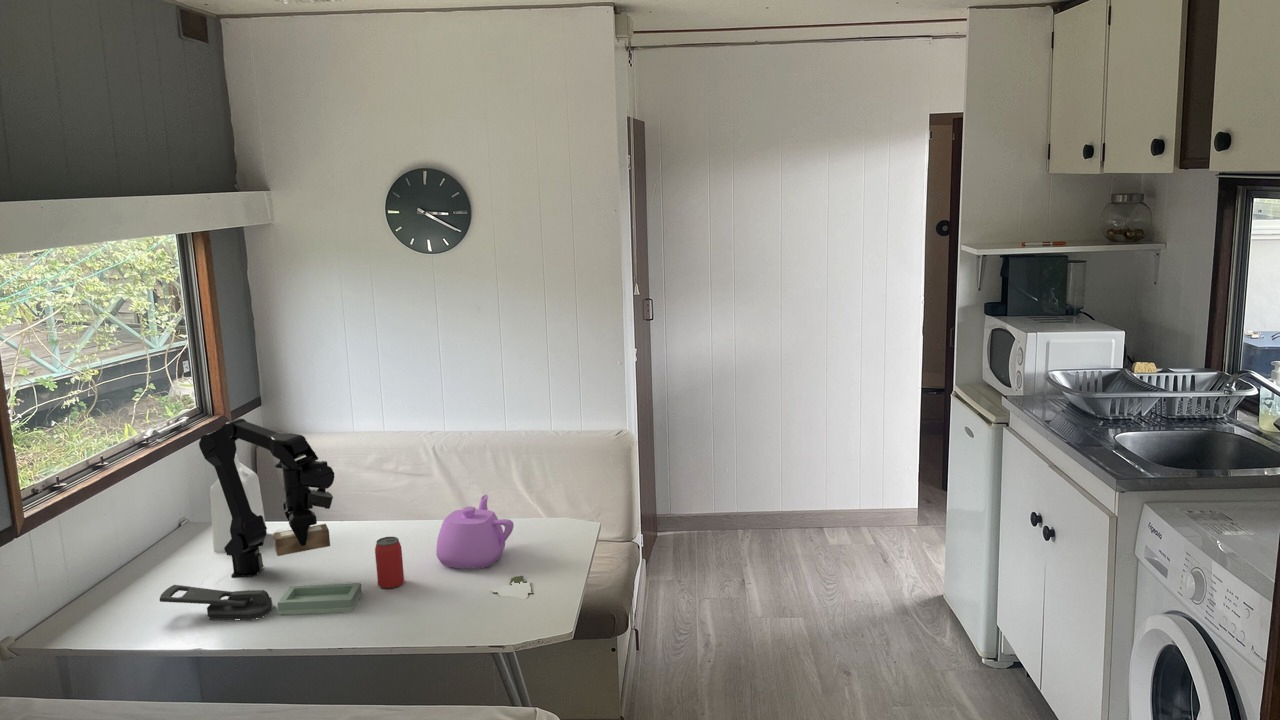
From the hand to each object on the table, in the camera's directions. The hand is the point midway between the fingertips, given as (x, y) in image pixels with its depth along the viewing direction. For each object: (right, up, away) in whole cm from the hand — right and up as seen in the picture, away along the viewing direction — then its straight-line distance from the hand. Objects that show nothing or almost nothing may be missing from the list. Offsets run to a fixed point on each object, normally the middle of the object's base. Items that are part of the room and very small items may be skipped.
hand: (302, 542), depth 245 cm
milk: (-29, -6, +31) cm, 43 cm away
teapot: (+42, -8, +13) cm, 45 cm away
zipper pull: (-15, -15, -15) cm, 26 cm away
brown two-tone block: (0, -2, 0) cm, 2 cm away
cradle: (+9, -13, -11) cm, 19 cm away
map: (+56, -12, -9) cm, 58 cm away
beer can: (+23, -11, -1) cm, 26 cm away
